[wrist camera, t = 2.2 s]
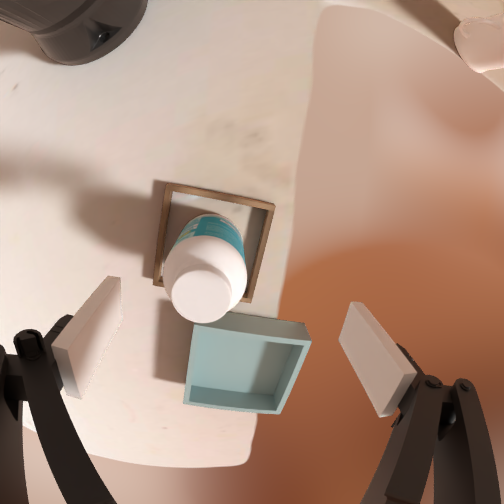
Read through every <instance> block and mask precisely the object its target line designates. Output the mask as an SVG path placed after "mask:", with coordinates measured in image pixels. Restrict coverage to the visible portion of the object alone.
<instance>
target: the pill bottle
mask: <svg viewBox="0 0 504 504" xmlns="http://www.w3.org/2000/svg"><path fill="white" fill-rule="evenodd" d="M163 284H164V287H165V290H166V292H167V294H168V296H169V298H170V299H171V300H172V303H173V305H174V308H175V309H176V310H177V312H178V313H179V314H180V315H181V316H183V317H184V318H186V319H188V320H190V321H192V322H196V323H209V322H213V321H216V320H218V319H220V318H221V317H222V316H224V315H225V314H226V312H227V311H229V310H230V309H232V308H233V307H234V306H235V305H236V304H237V303H238V302H239V301H240V299H241V298H242V296H243V294H244V291H245V288H246V284H247V271H246V263H245V256H244V247H243V240H242V236H241V233H240V231H239V229H238V228H237V227H236V225H235V224H234V223H233V222H232V221H231V220H229V219H228V218H226V217H224V216H221V215H218V214H204V215H200V216H197V217H195V218H194V219H192V220H191V221H190V222H188V223H187V225H186V226H185V227H184V229H183V230H182V232H181V234H180V235H179V237H178V239H177V241H176V242H175V244H174V246H173V248H172V249H171V251H170V253H169V255H168V257H167V259H166V261H165V264H164V268H163Z"/></svg>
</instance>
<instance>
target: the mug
mask: <svg viewBox="0 0 504 504" xmlns="http://www.w3.org/2000/svg"><path fill="white" fill-rule="evenodd" d="M468 23H470V24H468ZM466 24H467V25H466ZM454 42H455V45H456V48H457V50H458V53H459V54H460V56H461V58H462V59H463V61H464V62H465V63H466V64H467V65H468V66H469V67H470V68H471V69H472V70H474V71H476V72H479V73H482V72H485V71H487V70H492V69H499V68H504V13H501V14H497V15H494V16H491V17H488V18H480V17H472V18H467V19H464V20H463V21H461V23H460V24H459V26H457V27H456V28H455V30H454Z"/></svg>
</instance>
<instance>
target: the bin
mask: <svg viewBox="0 0 504 504" xmlns="http://www.w3.org/2000/svg"><path fill="white" fill-rule="evenodd" d="M311 342H312V340H311V338H310V335H309V333H308V331H307V328H306V326H305V324H304V323H300V322H292V321H285V320H278V319H271V318H264V317H257V316H251V315H245V314H238V313H232V312H226V314H225V315H224V316H222V317H221V318H220V319H218V320H216V321H213V322H209V323H196V322H194V328H193V335H192V341H191V348H190V355H189V362H188V369H187V377H186V384H185V392H184V400H183V404H187V405H193V406H200V407H207V408H214V409H222V410H231V411H241V412H252V413H266V414H280V413H281V410H282V409H283V407H284V404H285V402H286V400H287V398H288V396H289V394H290V391H291V389H292V387H293V384H294V382H295V380H296V378H297V375H298V373H299V371H300V369H301V366H302V363H303V361H304V359H305V357H306V354H307V352H308V350H309V347H310V344H311Z"/></svg>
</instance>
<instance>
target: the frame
mask: <svg viewBox="0 0 504 504" xmlns="http://www.w3.org/2000/svg"><path fill="white" fill-rule="evenodd" d="M173 191H175V192H180V193H186V194H191V195H197V196H202V197H207V198H212V199H217V200H222V201H227V202H232V203H237V204H242V205H247V206H252V207H256V208H261V209H266V210H267V211H266V215H265V219H264V224H263V228H262V232H261V236H260V240H259V244H258V248H257V252H256V256H255V260H254V264H253V268H252V273H251V277H250V281H249V285H248V289H247V293H246V292H244V294H243V296H242V298H241V299H240V302H246V303H251V301H252V297H253V294H254V290H255V286H256V282H257V278H258V274H259V270H260V266H261V262H262V258H263V254H264V250H265V247H266V243H267V239H268V235H269V231H270V227H271V223H272V219H273V215H274V211H275V207H276V206H275V205H274V204H272V203H268V202H263V201H259V200H254V199H249V198H245V197H240V196H235V195H230V194H225V193H220V192H215V191H210V190H205V189H199V188H194V187H189V186H183V185H177V184H172V183H168V184H166V188H165V194H164V200H163V207H162V213H161V220H160V227H159V234H158V242H157V250H156V259H155V268H154V277H153V285H155V286H160V287H164V284H163V277H160V276H161V268H162V259H163V251H164V244H165V236H166V229H167V223H168V216H169V210H170V204H171V198H172V192H173ZM164 288H165V287H164Z"/></svg>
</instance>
